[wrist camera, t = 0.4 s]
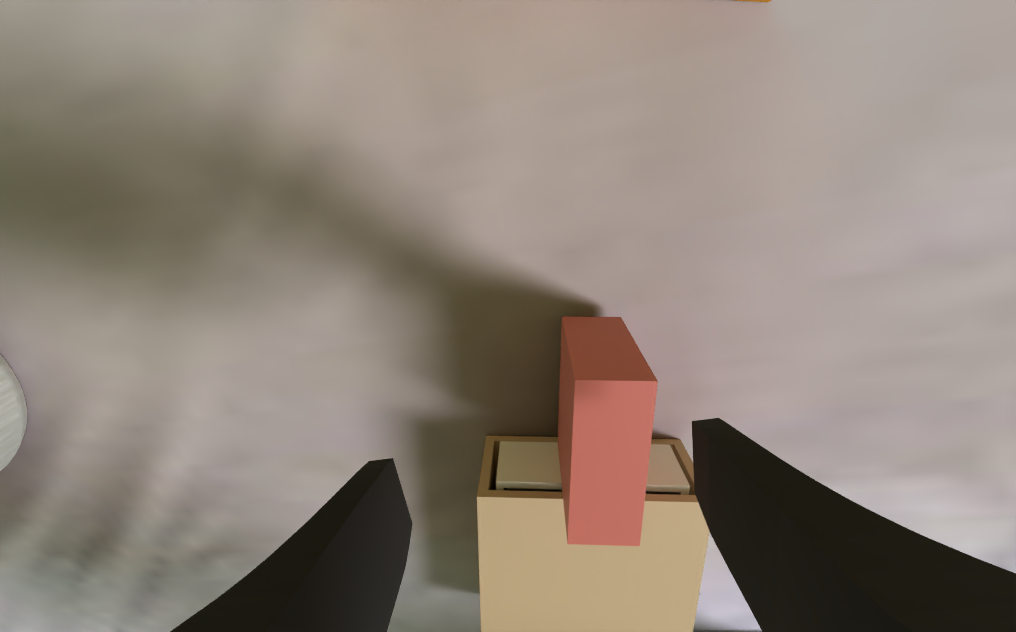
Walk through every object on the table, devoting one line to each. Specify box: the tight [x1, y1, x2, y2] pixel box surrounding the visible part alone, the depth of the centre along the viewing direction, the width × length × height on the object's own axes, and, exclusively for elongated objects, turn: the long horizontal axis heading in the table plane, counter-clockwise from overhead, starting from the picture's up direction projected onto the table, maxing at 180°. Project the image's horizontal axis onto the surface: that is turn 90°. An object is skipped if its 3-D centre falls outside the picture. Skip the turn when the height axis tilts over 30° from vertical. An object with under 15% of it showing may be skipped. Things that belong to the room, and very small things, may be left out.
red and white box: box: [496, 317, 690, 546], centre depth 19 cm, size 15×8×6 cm, turn 0°
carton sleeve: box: [477, 436, 710, 632], centre depth 22 cm, size 10×9×4 cm
